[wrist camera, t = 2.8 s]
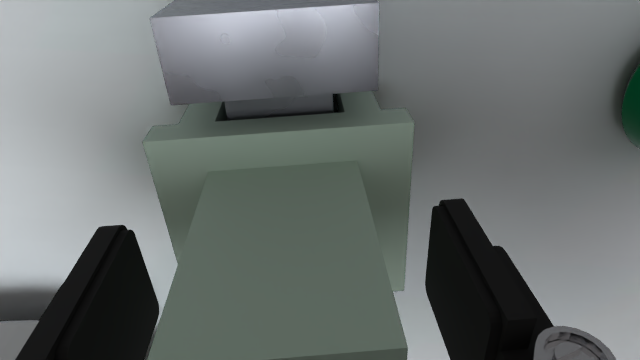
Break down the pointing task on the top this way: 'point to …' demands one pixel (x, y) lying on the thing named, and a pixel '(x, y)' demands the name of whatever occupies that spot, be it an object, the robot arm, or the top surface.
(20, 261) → the top surface
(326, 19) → the rail
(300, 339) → the carriage
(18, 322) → the robot toy
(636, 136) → the soda can
